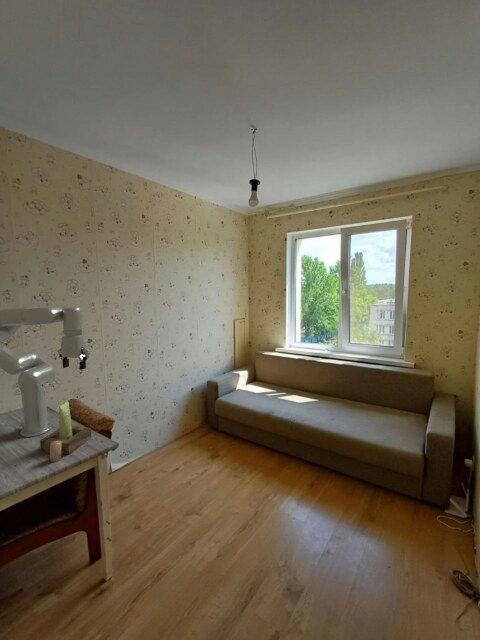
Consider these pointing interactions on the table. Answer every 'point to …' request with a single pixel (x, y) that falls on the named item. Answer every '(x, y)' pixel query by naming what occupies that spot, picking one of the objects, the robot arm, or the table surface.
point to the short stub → (55, 451)
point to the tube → (65, 422)
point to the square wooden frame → (67, 446)
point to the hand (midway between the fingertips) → (74, 368)
